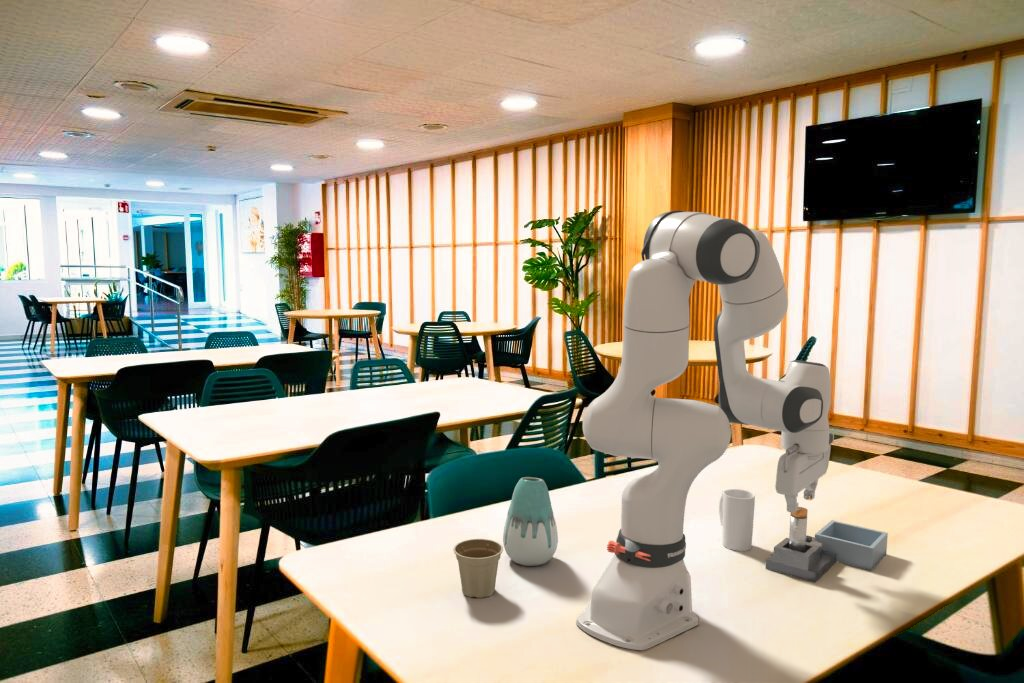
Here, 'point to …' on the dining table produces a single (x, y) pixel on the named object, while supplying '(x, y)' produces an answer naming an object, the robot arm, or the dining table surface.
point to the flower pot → (478, 566)
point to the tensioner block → (801, 560)
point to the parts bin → (853, 544)
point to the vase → (530, 524)
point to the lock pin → (798, 530)
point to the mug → (737, 518)
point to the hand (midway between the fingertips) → (800, 505)
